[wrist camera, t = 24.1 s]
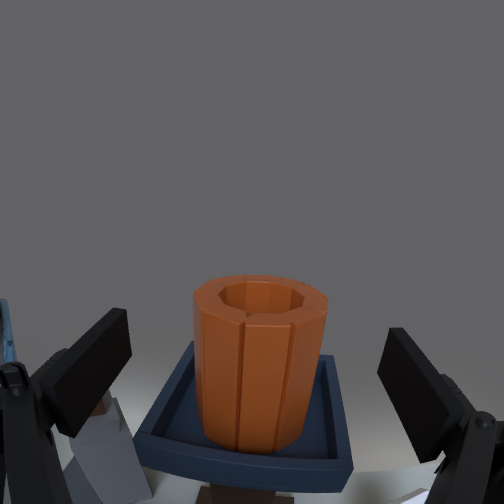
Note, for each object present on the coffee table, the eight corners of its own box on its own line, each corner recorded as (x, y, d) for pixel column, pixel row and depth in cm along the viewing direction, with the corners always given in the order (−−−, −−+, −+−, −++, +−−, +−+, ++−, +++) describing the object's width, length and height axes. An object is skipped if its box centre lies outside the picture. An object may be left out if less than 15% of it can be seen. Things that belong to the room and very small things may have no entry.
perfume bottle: (153, 497, 27) (124, 405, 23) (106, 508, 24) (56, 417, 19) (135, 462, 33) (109, 366, 28) (93, 471, 29) (52, 375, 25)
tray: (178, 559, 18) (126, 440, 13) (201, 489, 30) (189, 338, 24) (287, 574, 17) (358, 471, 11) (292, 500, 29) (335, 353, 23)
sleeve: (272, 472, 14) (294, 343, 11) (176, 419, 17) (165, 295, 15) (321, 407, 19) (345, 292, 17) (237, 374, 23) (243, 267, 21)
